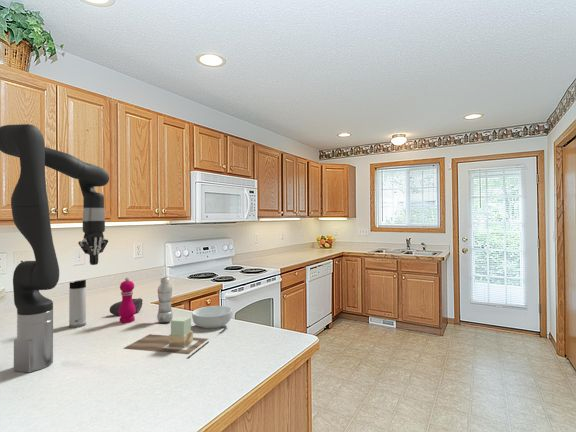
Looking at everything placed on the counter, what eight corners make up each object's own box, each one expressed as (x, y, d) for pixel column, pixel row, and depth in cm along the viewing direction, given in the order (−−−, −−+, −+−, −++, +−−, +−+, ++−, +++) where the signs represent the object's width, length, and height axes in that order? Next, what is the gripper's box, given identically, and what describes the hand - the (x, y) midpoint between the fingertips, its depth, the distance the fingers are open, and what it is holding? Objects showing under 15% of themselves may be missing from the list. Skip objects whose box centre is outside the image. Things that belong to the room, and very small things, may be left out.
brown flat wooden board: (188, 358, 113) (188, 353, 113) (122, 352, 119) (122, 348, 119) (208, 342, 128) (208, 338, 128) (149, 338, 133) (149, 334, 133)
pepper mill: (114, 322, 155) (114, 278, 155) (128, 318, 161) (128, 275, 161) (125, 324, 151) (125, 279, 152) (139, 320, 158) (139, 276, 158)
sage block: (183, 335, 119) (183, 321, 119) (170, 334, 120) (170, 320, 120) (190, 331, 124) (190, 317, 124) (178, 330, 125) (178, 316, 125)
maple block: (184, 347, 118) (184, 336, 119) (168, 346, 120) (168, 335, 120) (192, 341, 124) (192, 330, 124) (178, 340, 126) (178, 329, 126)
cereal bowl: (190, 323, 152) (190, 307, 152) (227, 319, 158) (227, 304, 158) (194, 335, 136) (194, 317, 136) (235, 330, 142) (235, 313, 142)
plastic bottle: (167, 319, 159) (167, 276, 159) (175, 321, 154) (175, 277, 155) (154, 322, 154) (154, 278, 154) (162, 325, 150) (162, 279, 150)
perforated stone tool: (109, 317, 163) (109, 302, 163) (109, 314, 168) (109, 300, 168) (143, 313, 170) (143, 299, 170) (142, 310, 175) (142, 297, 175)
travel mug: (78, 328, 146) (78, 281, 147) (65, 327, 148) (65, 281, 148) (90, 323, 153) (90, 279, 153) (77, 323, 154) (77, 278, 154)
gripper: (98, 219, 140) (98, 262, 140) (71, 220, 127) (71, 266, 127) (114, 219, 138) (114, 262, 138) (88, 219, 125) (88, 267, 125)
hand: (93, 264), depth 132 cm, fingers closed
